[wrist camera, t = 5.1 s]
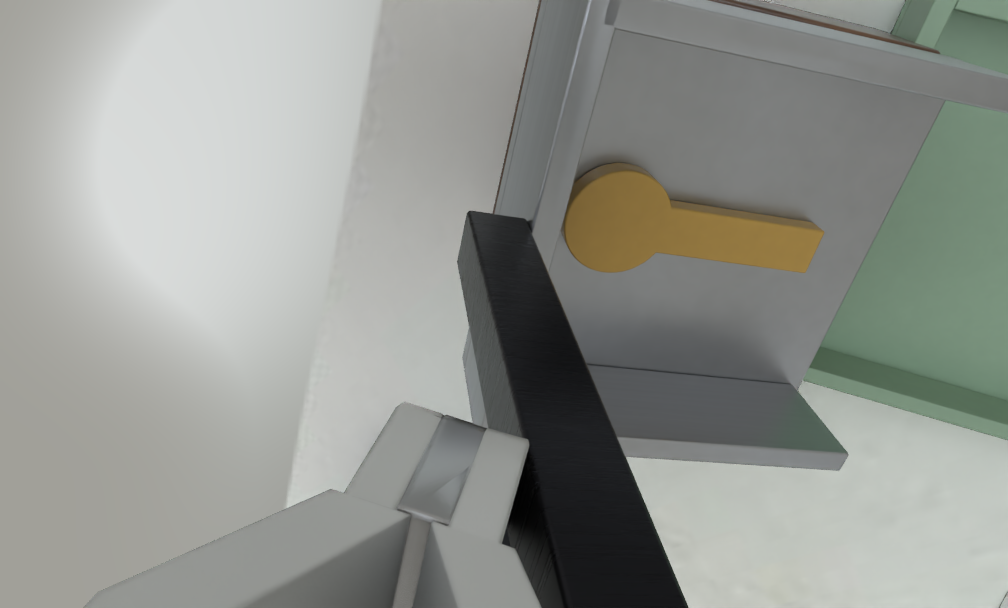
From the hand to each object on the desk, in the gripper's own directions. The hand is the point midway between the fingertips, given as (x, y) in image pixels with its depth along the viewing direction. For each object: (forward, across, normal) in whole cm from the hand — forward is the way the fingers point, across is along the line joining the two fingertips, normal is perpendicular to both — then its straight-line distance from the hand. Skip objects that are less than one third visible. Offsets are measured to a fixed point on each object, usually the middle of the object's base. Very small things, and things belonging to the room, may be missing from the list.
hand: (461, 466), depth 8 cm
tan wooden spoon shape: (+11, -3, 0) cm, 11 cm away
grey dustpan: (+11, -3, 0) cm, 11 cm away
